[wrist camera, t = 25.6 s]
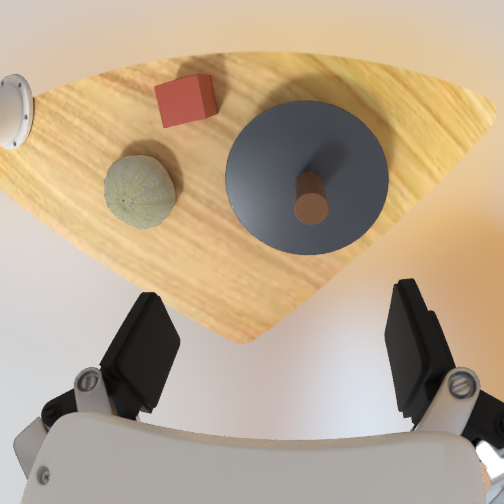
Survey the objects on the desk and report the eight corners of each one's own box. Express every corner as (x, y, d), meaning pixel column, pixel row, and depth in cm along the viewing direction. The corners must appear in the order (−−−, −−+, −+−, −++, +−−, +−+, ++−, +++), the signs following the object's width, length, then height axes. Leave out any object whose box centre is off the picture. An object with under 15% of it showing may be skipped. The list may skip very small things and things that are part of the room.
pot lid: (208, 217, 30) (189, 251, 24) (261, 74, 21) (250, 70, 16) (339, 269, 31) (346, 310, 26) (411, 148, 23) (441, 168, 17)
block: (179, 121, 28) (163, 128, 25) (172, 85, 26) (153, 86, 22) (218, 113, 27) (206, 118, 24) (210, 75, 25) (197, 73, 22)
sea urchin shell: (148, 244, 35) (94, 235, 29) (138, 196, 38) (90, 182, 31) (194, 203, 31) (136, 184, 25) (179, 154, 34) (128, 132, 27)
